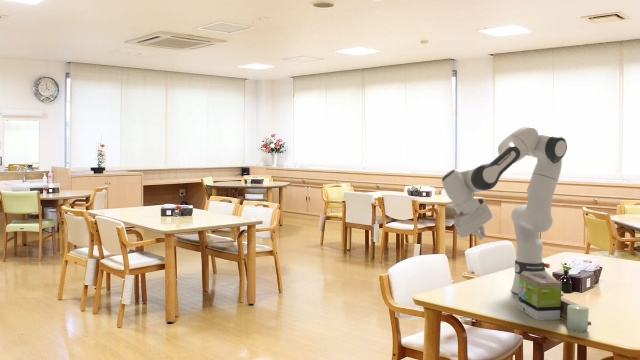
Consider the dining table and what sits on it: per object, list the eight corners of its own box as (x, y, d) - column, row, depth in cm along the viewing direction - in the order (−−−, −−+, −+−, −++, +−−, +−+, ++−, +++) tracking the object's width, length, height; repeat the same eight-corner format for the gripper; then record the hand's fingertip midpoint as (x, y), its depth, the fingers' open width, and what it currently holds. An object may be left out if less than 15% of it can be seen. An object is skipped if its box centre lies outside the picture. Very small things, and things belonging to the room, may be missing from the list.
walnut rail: (551, 306, 240) (552, 289, 240) (591, 324, 217) (592, 305, 216) (536, 306, 239) (537, 290, 238) (574, 325, 215) (575, 306, 215)
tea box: (516, 309, 235) (518, 273, 234) (540, 308, 237) (541, 272, 236) (536, 320, 220) (538, 282, 219) (561, 320, 222) (563, 281, 221)
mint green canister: (579, 325, 215) (580, 304, 215) (591, 331, 208) (593, 309, 208) (562, 326, 214) (563, 305, 213) (574, 332, 207) (575, 310, 206)
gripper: (457, 215, 229) (474, 246, 229) (485, 196, 242) (501, 226, 241) (446, 219, 234) (463, 250, 234) (474, 201, 247) (490, 230, 246)
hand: (482, 237), depth 237 cm, fingers closed
